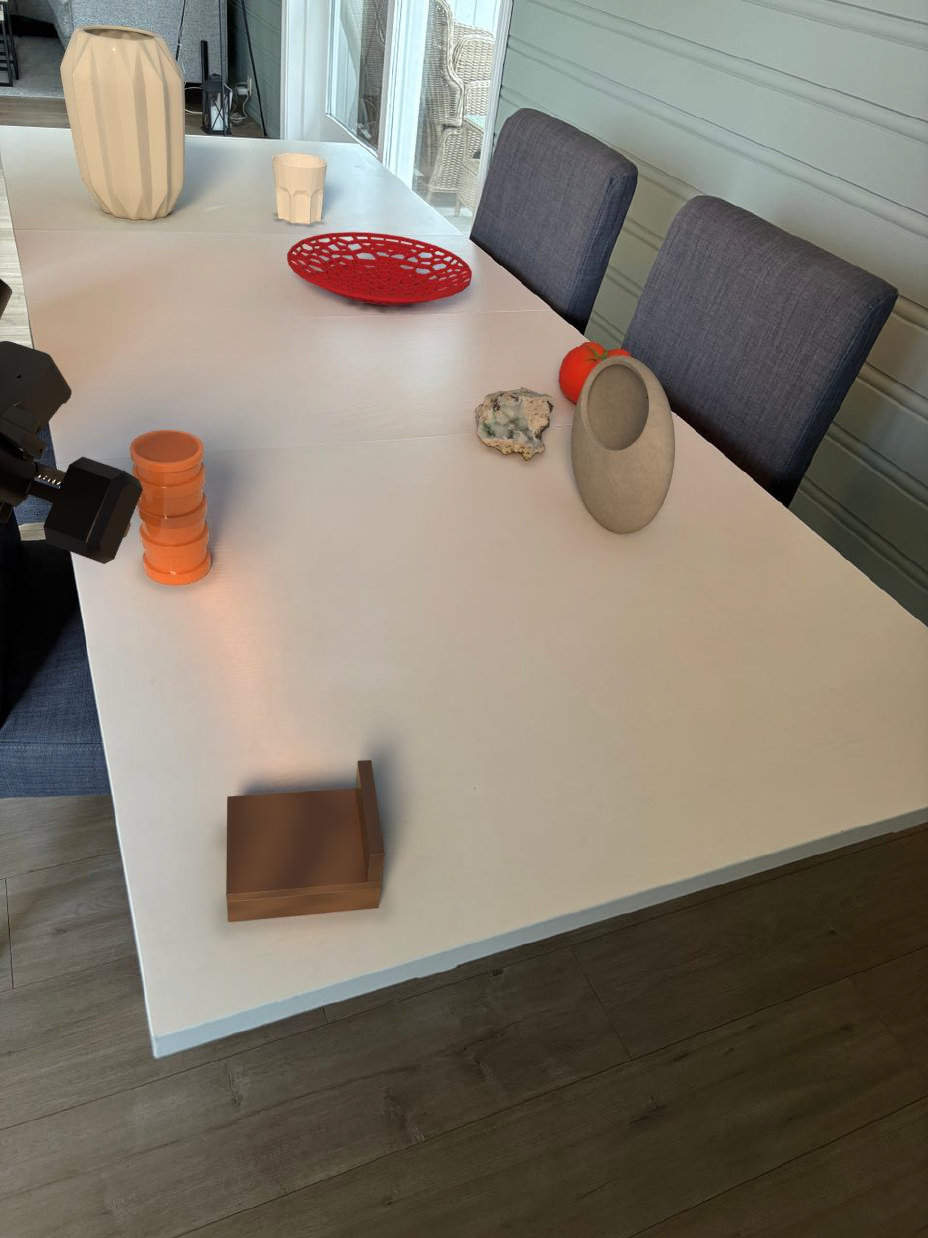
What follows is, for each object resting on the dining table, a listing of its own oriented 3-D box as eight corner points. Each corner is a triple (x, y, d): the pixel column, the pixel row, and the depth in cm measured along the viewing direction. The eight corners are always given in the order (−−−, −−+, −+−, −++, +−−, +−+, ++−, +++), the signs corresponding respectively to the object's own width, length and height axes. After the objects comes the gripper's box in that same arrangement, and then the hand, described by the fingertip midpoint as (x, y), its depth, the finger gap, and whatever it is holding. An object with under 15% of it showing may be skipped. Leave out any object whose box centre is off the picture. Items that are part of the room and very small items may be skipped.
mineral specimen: (487, 481, 117) (549, 448, 120) (509, 470, 110) (576, 435, 112) (452, 412, 116) (516, 381, 119) (473, 396, 108) (540, 363, 111)
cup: (327, 226, 171) (329, 170, 165) (273, 223, 169) (273, 165, 162) (322, 210, 178) (324, 155, 172) (270, 206, 176) (270, 150, 170)
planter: (541, 478, 110) (572, 327, 98) (593, 474, 112) (629, 326, 100) (609, 570, 97) (654, 409, 85) (667, 563, 99) (718, 406, 87)
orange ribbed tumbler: (141, 585, 85) (126, 464, 77) (146, 546, 90) (132, 428, 82) (210, 584, 87) (202, 465, 78) (211, 546, 91) (204, 430, 83)
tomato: (540, 400, 126) (550, 348, 121) (580, 377, 133) (591, 328, 129) (607, 428, 122) (620, 376, 117) (644, 403, 129) (658, 353, 124)
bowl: (251, 274, 148) (250, 242, 145) (395, 253, 165) (397, 224, 161) (358, 344, 132) (360, 310, 129) (505, 312, 149) (509, 282, 146)
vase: (171, 234, 157) (156, 50, 140) (59, 216, 157) (31, 30, 140) (207, 204, 172) (198, 34, 155) (105, 187, 172) (85, 15, 155)
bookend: (228, 923, 60) (224, 867, 56) (228, 824, 66) (225, 768, 62) (378, 908, 62) (385, 854, 58) (366, 814, 68) (371, 759, 64)
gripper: (107, 362, 54) (220, 450, 69) (-141, 283, 58) (18, 383, 73) (33, 536, 53) (164, 587, 68) (-214, 444, 57) (-38, 512, 72)
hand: (76, 511), depth 70 cm, fingers open, 9 cm apart
